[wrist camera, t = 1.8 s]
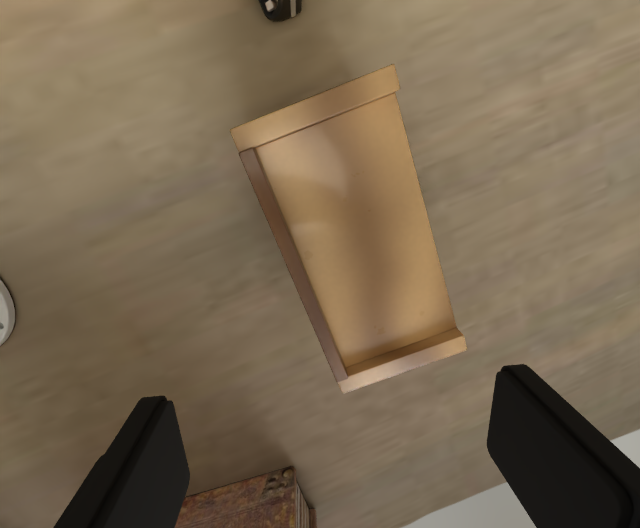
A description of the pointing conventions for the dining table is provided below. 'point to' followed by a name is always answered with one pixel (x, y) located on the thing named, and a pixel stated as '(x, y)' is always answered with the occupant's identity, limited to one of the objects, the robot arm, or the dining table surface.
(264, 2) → the battery charger
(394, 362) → the tray
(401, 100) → the dining table surface
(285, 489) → the book
